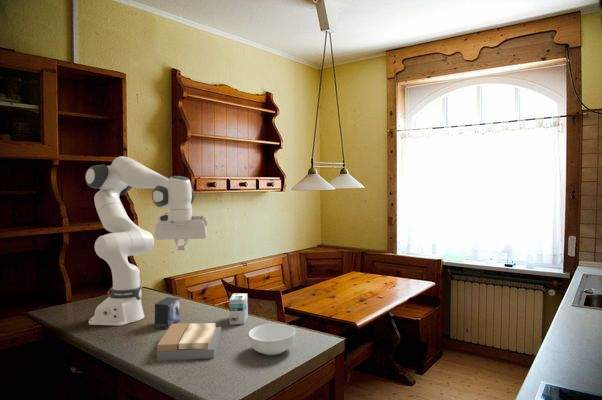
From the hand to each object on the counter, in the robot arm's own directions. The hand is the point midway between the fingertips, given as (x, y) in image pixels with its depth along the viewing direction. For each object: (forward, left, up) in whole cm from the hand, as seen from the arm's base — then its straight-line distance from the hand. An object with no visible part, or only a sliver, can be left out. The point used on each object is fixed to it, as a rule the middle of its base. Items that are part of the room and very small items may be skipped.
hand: (181, 250), depth 162 cm
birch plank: (+9, -17, -30) cm, 36 cm away
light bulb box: (+22, +10, -33) cm, 41 cm away
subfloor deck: (+6, -17, -33) cm, 38 cm away
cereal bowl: (+36, -24, -33) cm, 55 cm away
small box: (-8, +8, -33) cm, 35 cm away
